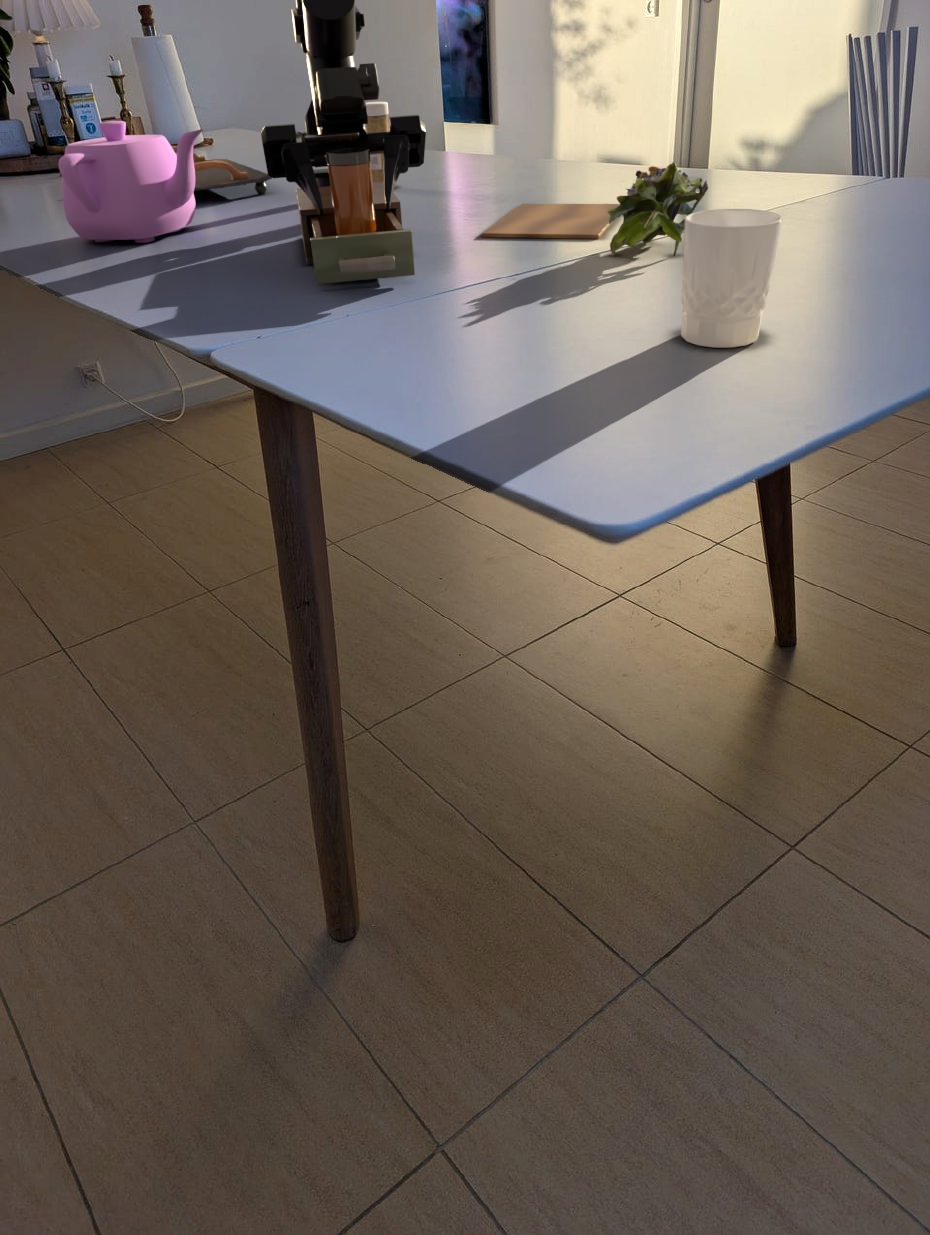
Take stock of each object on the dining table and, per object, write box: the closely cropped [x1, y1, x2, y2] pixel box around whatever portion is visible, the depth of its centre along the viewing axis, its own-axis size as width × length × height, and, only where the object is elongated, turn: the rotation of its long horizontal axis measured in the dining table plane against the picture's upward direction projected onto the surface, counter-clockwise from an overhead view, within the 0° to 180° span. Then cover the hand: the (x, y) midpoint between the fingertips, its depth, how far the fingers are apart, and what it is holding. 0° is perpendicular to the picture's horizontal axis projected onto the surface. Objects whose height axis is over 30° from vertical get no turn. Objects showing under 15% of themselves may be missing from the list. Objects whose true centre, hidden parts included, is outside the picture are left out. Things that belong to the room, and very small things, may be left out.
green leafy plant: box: [608, 161, 709, 257], centre depth 107 cm, size 11×11×12 cm
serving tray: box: [171, 145, 273, 196], centre depth 167 cm, size 39×23×6 cm, turn 28°
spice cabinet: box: [295, 182, 403, 266], centre depth 118 cm, size 17×12×6 cm
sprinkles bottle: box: [365, 101, 390, 183], centre depth 156 cm, size 5×5×14 cm
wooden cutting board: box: [481, 203, 620, 240], centre depth 127 cm, size 16×22×1 cm
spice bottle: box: [326, 148, 377, 236], centre depth 103 cm, size 5×5×11 cm
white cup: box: [680, 208, 783, 349], centre depth 77 cm, size 8×8×10 cm
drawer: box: [310, 209, 416, 285], centre depth 104 cm, size 21×11×5 cm, turn 11°
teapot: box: [58, 120, 205, 244], centre depth 127 cm, size 23×21×15 cm
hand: (354, 210), depth 102 cm, fingers open, 7 cm apart
